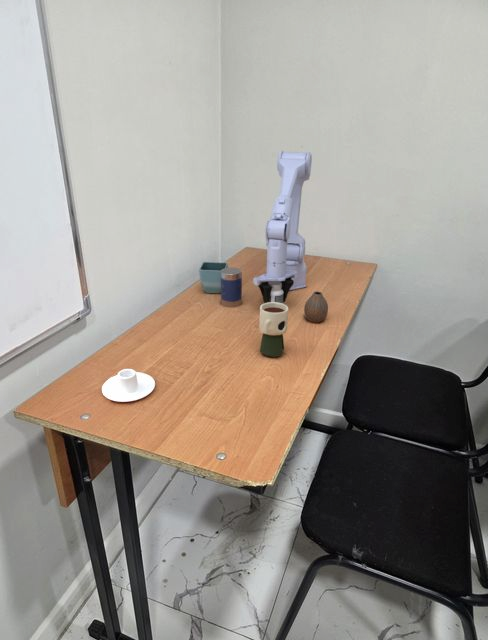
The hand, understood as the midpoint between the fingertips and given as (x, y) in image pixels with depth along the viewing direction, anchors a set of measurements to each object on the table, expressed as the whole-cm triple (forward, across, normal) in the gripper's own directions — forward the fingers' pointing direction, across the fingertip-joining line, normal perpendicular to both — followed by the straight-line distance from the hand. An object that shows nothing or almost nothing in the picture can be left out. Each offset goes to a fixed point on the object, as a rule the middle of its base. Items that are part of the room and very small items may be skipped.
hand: (274, 302), depth 139 cm
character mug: (+3, -15, -23) cm, 28 cm away
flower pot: (+3, -10, +23) cm, 25 cm away
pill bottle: (+3, 0, 0) cm, 3 cm away
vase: (+3, +7, -12) cm, 14 cm away
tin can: (+2, -10, +11) cm, 15 cm away
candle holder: (+3, -53, -22) cm, 57 cm away
